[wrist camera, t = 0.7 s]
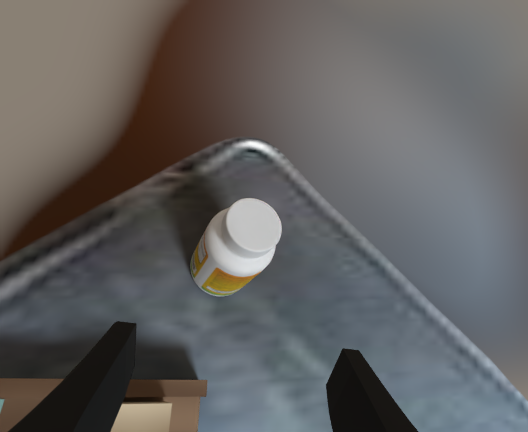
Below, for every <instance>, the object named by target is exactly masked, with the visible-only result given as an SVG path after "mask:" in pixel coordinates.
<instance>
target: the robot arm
mask: <svg viewBox="0 0 528 432" xmlns="http://www.w3.org/2000/svg"><path fill="white" fill-rule="evenodd" d="M135 345H136V323H128V322H119V321H117V322H115V323H114V324H113V325H112V326H111V328H110V329H109V330H108V331H107V333H106V334H105V335H104V336H103V337H102V339H101V340H100V341H99V342H98V343H97V344H96V346H95V347H94V348H93V349H92V350H91V351H90V352H89V353H88V354H87V356H86V357H85V358H84V359H83V360H82V361H81V362H80V363H79V364H78V365H77V366H76V367H75V368H74V369H73V370H72V371H71V373H70V374H69V375H68V376H67V377H66V378H65V379H64V380H63V381H62V382H61V383H60V384H59V385H58V386H57V387H56V388H55V389H54V390H53V391H52V392H50V393H49V394H48V395H47V396H46V397H45V398H44V399H43V400H42V401H41V402H40V403H39V404H38V405H37V406H36V407H35V408H34V409H33V410H32V411H30V412H29V413H28V414H27V415H26V416H25V417H24V418H23V419H22V420H20V421H19V422H18V423H17V424H16V425H15V426H14V427H12V428H11V429H10V430H9V431H8V432H111V429H112V427H113V424H114V422H115V420H116V417H117V415H118V412H119V410H120V408H121V405H122V403H123V400H124V398H125V395H126V392H127V388H128V385H129V382H130V379H131V375H132V372H133V369H134V365H135ZM326 389H327V399H328V407H329V415H330V420H331V425H332V429H333V432H418V431H417V429H416V428H415V427H414V426H413V425H412V423H411V422H410V421H409V419H408V418H407V417H406V415H405V414H404V413H403V412H402V410H401V409H400V408H399V406H398V405H397V403H396V402H395V401H394V399H393V398H392V397H391V395H390V394H389V393H388V391H387V390H386V388H385V387H384V386H383V384H382V383H381V381H380V380H379V378H378V377H377V376H376V374H375V373H374V371H373V370H372V368H371V367H370V366H369V364H368V363H367V361H366V360H365V358H364V357H363V356H362V354H361V353H360V351H359V350H352V349H342V351H341V353H340V356H339V358H338V360H337V362H336V364H335V367H334V369H333V371H332V373H331V375H330V378H329V380H328V382H327V384H326Z"/></svg>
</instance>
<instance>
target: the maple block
mask: <svg viewBox="0 0 528 432" xmlns="http://www.w3.org/2000/svg"><path fill="white" fill-rule="evenodd" d="M171 408H172V403H169V402H166V401H140V402H123V403H122V405H121V408H120V410H119V412H118V415H117V417H116V420H115V422H114V424H113V427H112V429H111V432H169V426H170V417H171Z"/></svg>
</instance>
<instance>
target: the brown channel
mask: <svg viewBox="0 0 528 432" xmlns="http://www.w3.org/2000/svg"><path fill="white" fill-rule="evenodd" d="M63 380H64V379H25V378H0V432H8V431H9V430H10V429H11V428H12V427H14V426H15V425H16V424H17V423H18V422H19V421H20V420H22V419H23V418H24V417H25V416H26V415H27V414H28V413H29V412H30V411H32V410H33V409H34V408H35V407H36V406H37V405H38V404H39V403H40V402H41V401H42V400H43V399H44V398H45V397H46V396H47V395H48V394H49V393H50V392H52V391H53V390H54V389H55V388H56V387H57V386H58V385H59V384H60V383H61V382H62V381H63ZM206 392H207V380H139V379H130V382H129V385H128V388H127V392H126V395H125V398H124V400H123V402H140V401H166V402H169V403H172V408H171V417H170V426H169V432H197V431H198V418H199V406H200V397H206Z"/></svg>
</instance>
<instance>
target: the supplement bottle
mask: <svg viewBox="0 0 528 432" xmlns="http://www.w3.org/2000/svg"><path fill="white" fill-rule="evenodd" d="M281 231H282V227H281V222H280V219H279V217H278V215H277V213H276V212H275V210H274V209H273V208H272V207H271V206H269V205H268V204H267V203H265V202H263V201H261V200H258V199H254V198H245V199H241V200H239V201H237V202H235V203H234V204H233V205H232V206H231V207H230V208H227V209H224V210H222V211H221V212H219V213H218V214H217V215H215V216H214V217H213V219H212V220H211V221H210V223H209V225H208V226H207V228H206V230H205V232H204V234H203V236H202V238H201V240H200V241H199V243H198V245H197V247H196V249H195V251H194V253H193V255H192V258H191V263H190V269H191V274H192V277H193V279H194V281H195V283H196V284H197V285H198V287H199V288H201V289H202V290H203V291H205V292H206V293H208V294H211V295H214V296H228V295H231V294H233V293H235V292H237V291H238V290H240V289H241V288H242V287H243V286H244V285H246V284H247V283H248V282H249V281H250V280H252V279H253V278H254V277H255V276H257V275H258V274H259V273H260V272H261V271H262V270H263V269H264V268H265V267H266V266H267V265H268V264H269V263H270V261H271V259H272V257H273V255H274V252H275V245H276V244H277V243H278V241H279V239H280V236H281Z"/></svg>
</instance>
